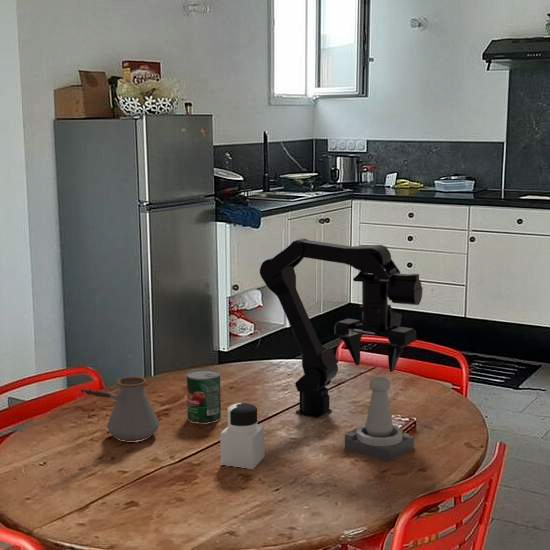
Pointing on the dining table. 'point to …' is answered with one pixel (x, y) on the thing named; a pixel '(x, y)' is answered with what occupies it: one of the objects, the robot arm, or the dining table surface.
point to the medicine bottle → (242, 438)
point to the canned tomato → (203, 395)
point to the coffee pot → (130, 410)
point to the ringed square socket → (379, 443)
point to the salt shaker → (379, 409)
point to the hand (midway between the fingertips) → (374, 368)
